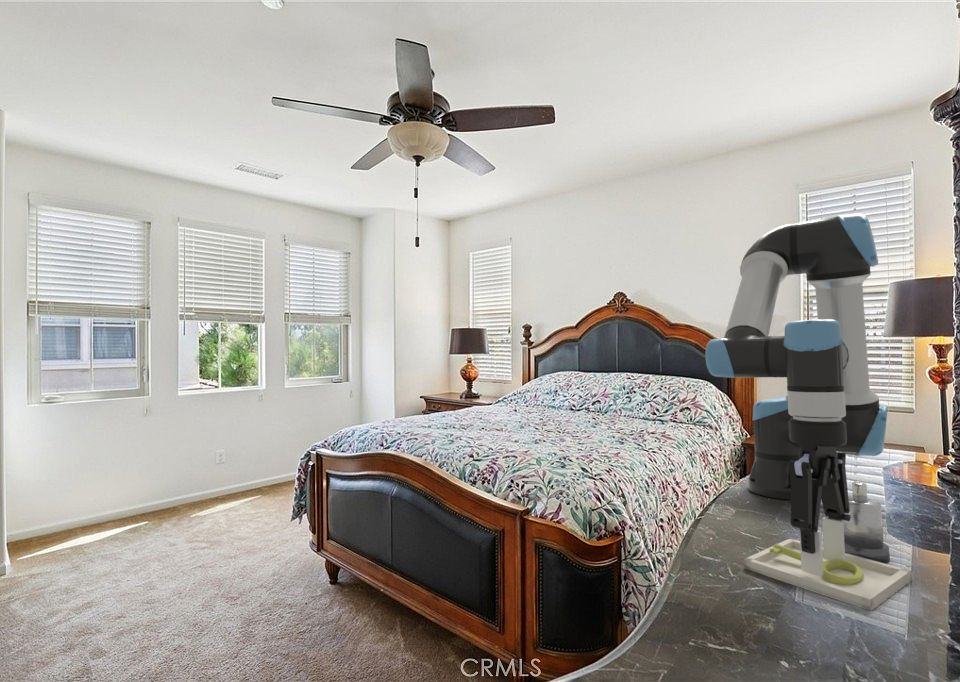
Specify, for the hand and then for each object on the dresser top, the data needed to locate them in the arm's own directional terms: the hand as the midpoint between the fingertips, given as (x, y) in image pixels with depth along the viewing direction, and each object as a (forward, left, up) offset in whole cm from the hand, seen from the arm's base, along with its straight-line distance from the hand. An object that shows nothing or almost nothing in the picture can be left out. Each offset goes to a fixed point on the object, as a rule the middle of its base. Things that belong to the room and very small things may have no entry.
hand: (823, 566), depth 78 cm
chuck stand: (-13, +1, -1) cm, 13 cm away
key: (0, -1, -1) cm, 1 cm away
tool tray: (0, 0, -1) cm, 1 cm away
